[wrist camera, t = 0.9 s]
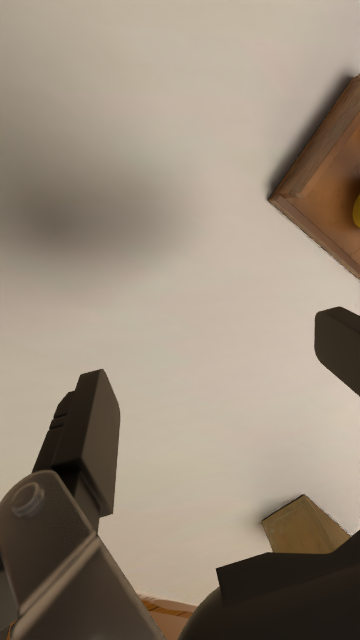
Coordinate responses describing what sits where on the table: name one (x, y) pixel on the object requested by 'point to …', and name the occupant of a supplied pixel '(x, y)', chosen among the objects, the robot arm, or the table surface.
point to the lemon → (356, 211)
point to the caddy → (303, 529)
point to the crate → (328, 182)
